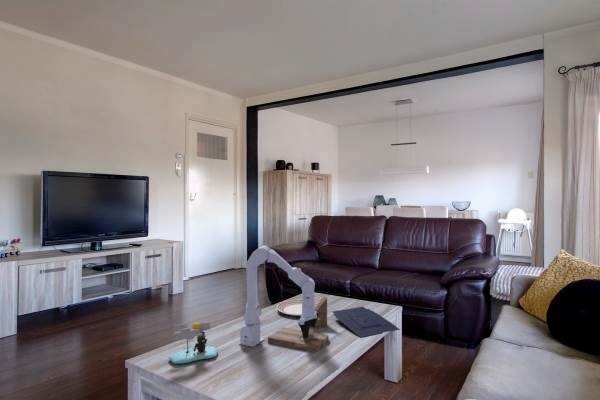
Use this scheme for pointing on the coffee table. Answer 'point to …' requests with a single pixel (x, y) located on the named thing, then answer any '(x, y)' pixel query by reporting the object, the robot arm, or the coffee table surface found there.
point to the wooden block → (321, 312)
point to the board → (297, 339)
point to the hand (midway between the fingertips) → (308, 335)
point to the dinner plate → (292, 307)
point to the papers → (364, 321)
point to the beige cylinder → (310, 334)
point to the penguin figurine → (193, 354)
